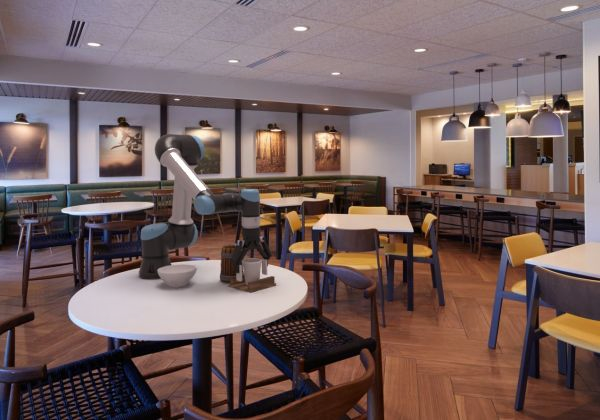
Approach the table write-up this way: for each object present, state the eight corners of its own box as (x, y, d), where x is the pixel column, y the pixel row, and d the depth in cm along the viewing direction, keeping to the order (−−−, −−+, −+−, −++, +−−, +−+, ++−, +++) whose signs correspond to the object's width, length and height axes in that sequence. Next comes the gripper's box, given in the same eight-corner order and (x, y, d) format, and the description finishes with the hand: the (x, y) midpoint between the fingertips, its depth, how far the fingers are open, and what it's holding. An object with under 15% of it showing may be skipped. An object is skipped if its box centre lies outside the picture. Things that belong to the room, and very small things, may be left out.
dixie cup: (239, 282, 185) (239, 259, 184) (258, 280, 189) (258, 257, 188) (245, 287, 178) (244, 263, 177) (265, 285, 181) (264, 261, 180)
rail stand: (228, 286, 183) (228, 277, 183) (254, 279, 193) (254, 271, 193) (250, 292, 173) (250, 283, 173) (276, 285, 183) (276, 276, 183)
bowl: (161, 292, 175) (161, 275, 175) (155, 283, 190) (154, 267, 189) (201, 286, 183) (201, 270, 182) (192, 278, 197) (191, 262, 196)
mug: (239, 284, 186) (238, 249, 185) (216, 283, 188) (215, 248, 187) (250, 274, 202) (250, 242, 200) (229, 274, 204) (228, 242, 202)
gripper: (232, 231, 169) (233, 285, 171) (279, 224, 187) (280, 273, 189) (220, 229, 174) (222, 281, 177) (267, 222, 192) (268, 270, 194)
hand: (252, 277), depth 183 cm, fingers open, 13 cm apart
